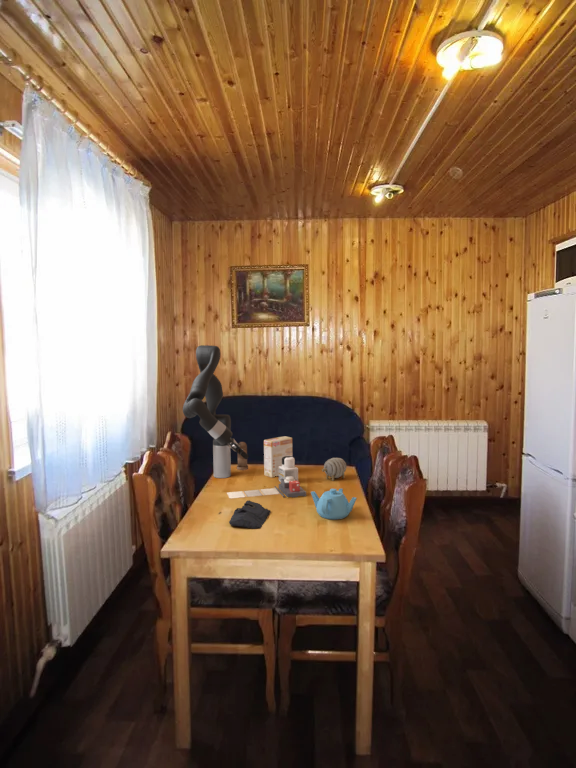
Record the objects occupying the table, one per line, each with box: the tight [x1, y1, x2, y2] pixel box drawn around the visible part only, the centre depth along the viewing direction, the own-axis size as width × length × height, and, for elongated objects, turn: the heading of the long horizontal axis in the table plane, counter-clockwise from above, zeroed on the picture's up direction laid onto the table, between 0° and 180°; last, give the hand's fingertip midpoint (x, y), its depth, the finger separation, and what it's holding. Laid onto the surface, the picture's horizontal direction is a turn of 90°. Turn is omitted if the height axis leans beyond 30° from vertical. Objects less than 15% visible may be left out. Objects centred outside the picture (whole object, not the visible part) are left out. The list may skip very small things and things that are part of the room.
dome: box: [284, 476, 295, 483], centre depth 235 cm, size 6×6×4 cm
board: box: [226, 486, 285, 499], centre depth 226 cm, size 16×26×1 cm, turn 106°
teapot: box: [310, 488, 357, 520], centre depth 201 cm, size 15×15×11 cm
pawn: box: [236, 441, 249, 471], centre depth 223 cm, size 5×5×13 cm
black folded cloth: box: [228, 500, 271, 530], centre depth 197 cm, size 15×22×5 cm
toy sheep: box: [321, 457, 348, 482], centre depth 253 cm, size 11×17×11 cm, turn 133°
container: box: [278, 455, 299, 483], centre depth 248 cm, size 8×8×13 cm
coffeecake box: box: [263, 435, 293, 478], centre depth 263 cm, size 15×7×20 cm, turn 130°
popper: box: [278, 478, 307, 498], centre depth 231 cm, size 16×9×6 cm, turn 16°
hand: (246, 456), depth 224 cm, fingers closed on pawn, 4 cm apart
